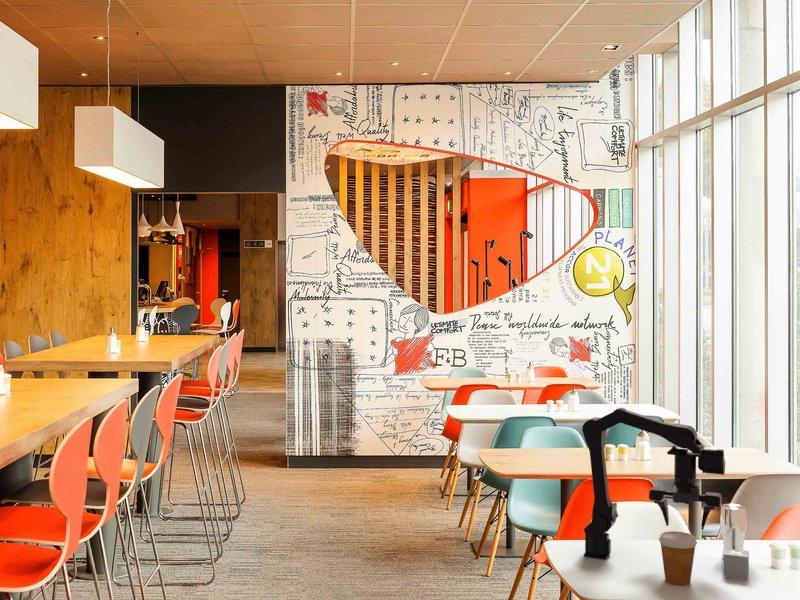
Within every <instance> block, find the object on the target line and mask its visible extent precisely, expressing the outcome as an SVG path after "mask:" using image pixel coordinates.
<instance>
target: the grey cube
mask: <svg viewBox="0 0 800 600" xmlns="http://www.w3.org/2000/svg"><path fill="white" fill-rule="evenodd" d="M749 565H750V551H749V550H743V551H742V550H734V549H726V548H725V551H724V559H723V577H724V576H727V577H726V578H732V577H735V578H734V579H739V578H742V580H747V579H748V580H749V574H750V566H749Z"/></svg>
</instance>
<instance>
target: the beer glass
mask: <svg viewBox="0 0 800 600" xmlns="http://www.w3.org/2000/svg"><path fill="white" fill-rule="evenodd" d="M746 509H747V508H746V506H744V505H741V504H737V503H724V504H721V506H720V518H719V519H720V521H719V522H720V530H721V531H720V532H721V536H722V542H723V543H722V544H723V549H722V554H721V558H722V559H723V560H724V551H725V548H726V549H734V550H742V551H744V543H745V537H746V533H747V510H746Z"/></svg>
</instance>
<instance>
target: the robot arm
mask: <svg viewBox="0 0 800 600" xmlns="http://www.w3.org/2000/svg"><path fill="white" fill-rule="evenodd" d="M618 424H624V425H625V426H629V427H632V428H636V429H638V430H641V431H644V432H647V433H650V434H653V435H656V436H659V437H661V438H663V439H664V440H666V441H667V442H669V443H671V444H673V446H672V447H671V448H670V449H669V450H667V452H666V454H667V455H668V456H669V455H670V456H674V471H673V474H674V479H673V480H674V481H673V484H672V491H670V490H668V491H667V488H666V487H661V486H660V487H659V486H653V487H652V488H650V490H649V492H648V500H649V501H653V504H657V505H658V507H659V508H660V510H661V512H662V513H661V514H662V515H663V519H664V522H665V525H666V527H669V526H670V525H669V524H670V523H669V522H670V517H669V505H668V504H669V503H668V499H672V502H673V503H675V504H680V503H681V504H686V505H690V504H692V501H693V502H700V503H704V505H703V510H702V511H703V512H702V519H701V531H704V529H705V526H706V522H707V520H708V518H709V517H708V516H709V514H710V513H711V510H716V508H721V505H723V504H722V503H723V502H722V501H723V499H722V498H723V497H722V494H721V493H720V492H712V491H711V492H709V491H706V492H705V494H701V492H700V491H701V490H700V485H697V468H698V470H699V471H700V472H702V474H709V475H720V476H725V473H726V460H725V450H724V449H723V448H721V449H720V448H716V449H713V448H712V449H711V448H705V446H704V445H703V444H702V442H701V441H700V440H699V439H698V433H697V431H696V429H695V428H694V427H693V426H691V425H688V424H683V423H682V424H681V423H674V422H673V423H671V422H665V421H662V420H659V419H656V418H652V417H649V416H646V415H643V414H640V413H637V412H635V411H631V410H628V409H626V408H624V407H618V408H617V409H614V410H613V411H611V412H609V413H608V414H606V415H604V416H602V417H599V416H598V417H597V416H596V417H592V418H590V419H587V420H586V421H585V422H584V423H583V424H582V427H581V428H582V435H583V438H584V441H585V443H586V446H587V448H588V450H589V458H590V470H591V476H592V480H591V481H592V488H593V496H594V500H593V505H592V510H591V511H592V513H591V522H589V523H588V524H587V525H586V526H585V527H584V528H583V532H584V535H585V537H584V539H585V540H584V543H585V546H584V553H583V556H584V557H590V558H596V559H604V560H606V559H608V557H609V556H610V555H611V552H612V540H611V538H610V533H608V532H609V530H610V529H611V528H612V527H613V526H614V525H615V523H616V522H617V519H618V517H619V513H618V509H617V507H618V504H617V502H612V500H611V497H610V491H609V482H608V473H607V472H608V471H607V464H606V455H605V448H606V447H605V446H606V441H607V430H608V429H610V428H612V427H614V426H616V425H618ZM678 447H679V448H678Z"/></svg>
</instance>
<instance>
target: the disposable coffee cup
mask: <svg viewBox="0 0 800 600" xmlns="http://www.w3.org/2000/svg"><path fill="white" fill-rule="evenodd" d="M658 541H659V544H660V549H661V557H662V564H663V565H662V566H663V574H664V581H665V582H666V583H668V584H670V585H675V586H687V585H690V584H691V580H692V579H691V578H692V575H693V574H692V572H693V566H694V560H695V559H694V557H695V550H696V546H697V544H698V541H697V540H696V537H695V536H694V534H691V533H687V532H683V531H675V530H674V531H673V530H671V531H663V532H661V533H660V537H659V538H658Z"/></svg>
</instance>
